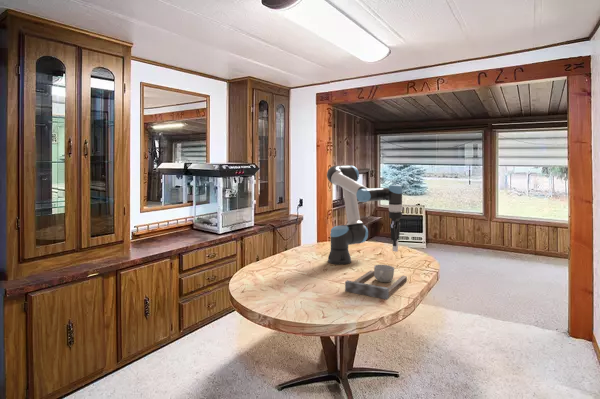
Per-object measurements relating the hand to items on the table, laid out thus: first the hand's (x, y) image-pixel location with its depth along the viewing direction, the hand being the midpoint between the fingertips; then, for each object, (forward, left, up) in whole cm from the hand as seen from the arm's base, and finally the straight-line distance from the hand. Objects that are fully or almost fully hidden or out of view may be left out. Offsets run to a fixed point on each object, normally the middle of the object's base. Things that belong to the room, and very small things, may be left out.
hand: (395, 251), depth 216 cm
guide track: (0, -27, -13) cm, 30 cm away
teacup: (0, -19, -13) cm, 23 cm away
